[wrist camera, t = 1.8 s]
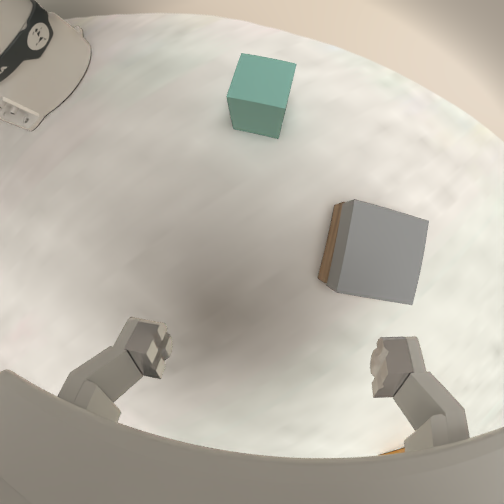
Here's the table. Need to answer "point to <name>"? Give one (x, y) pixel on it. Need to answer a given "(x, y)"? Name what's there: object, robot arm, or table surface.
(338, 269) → the tower top
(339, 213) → the tower base
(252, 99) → the teal block
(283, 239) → the table surface
